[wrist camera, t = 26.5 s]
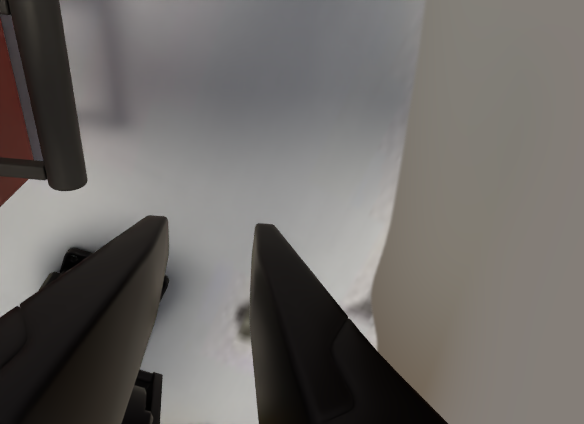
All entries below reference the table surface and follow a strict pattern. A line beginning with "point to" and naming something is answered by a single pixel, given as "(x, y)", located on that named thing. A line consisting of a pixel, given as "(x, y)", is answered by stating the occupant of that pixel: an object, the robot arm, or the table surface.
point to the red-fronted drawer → (39, 102)
